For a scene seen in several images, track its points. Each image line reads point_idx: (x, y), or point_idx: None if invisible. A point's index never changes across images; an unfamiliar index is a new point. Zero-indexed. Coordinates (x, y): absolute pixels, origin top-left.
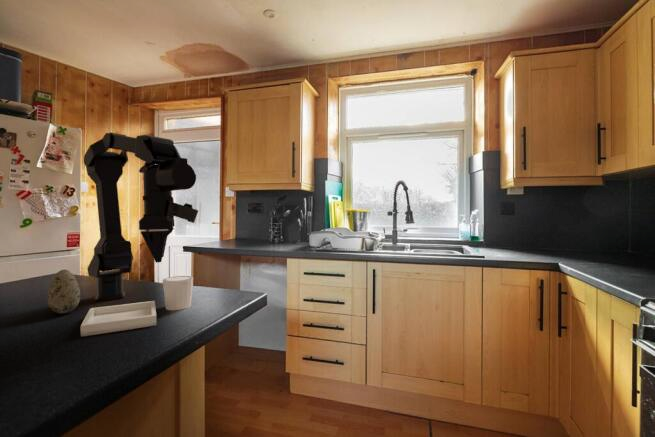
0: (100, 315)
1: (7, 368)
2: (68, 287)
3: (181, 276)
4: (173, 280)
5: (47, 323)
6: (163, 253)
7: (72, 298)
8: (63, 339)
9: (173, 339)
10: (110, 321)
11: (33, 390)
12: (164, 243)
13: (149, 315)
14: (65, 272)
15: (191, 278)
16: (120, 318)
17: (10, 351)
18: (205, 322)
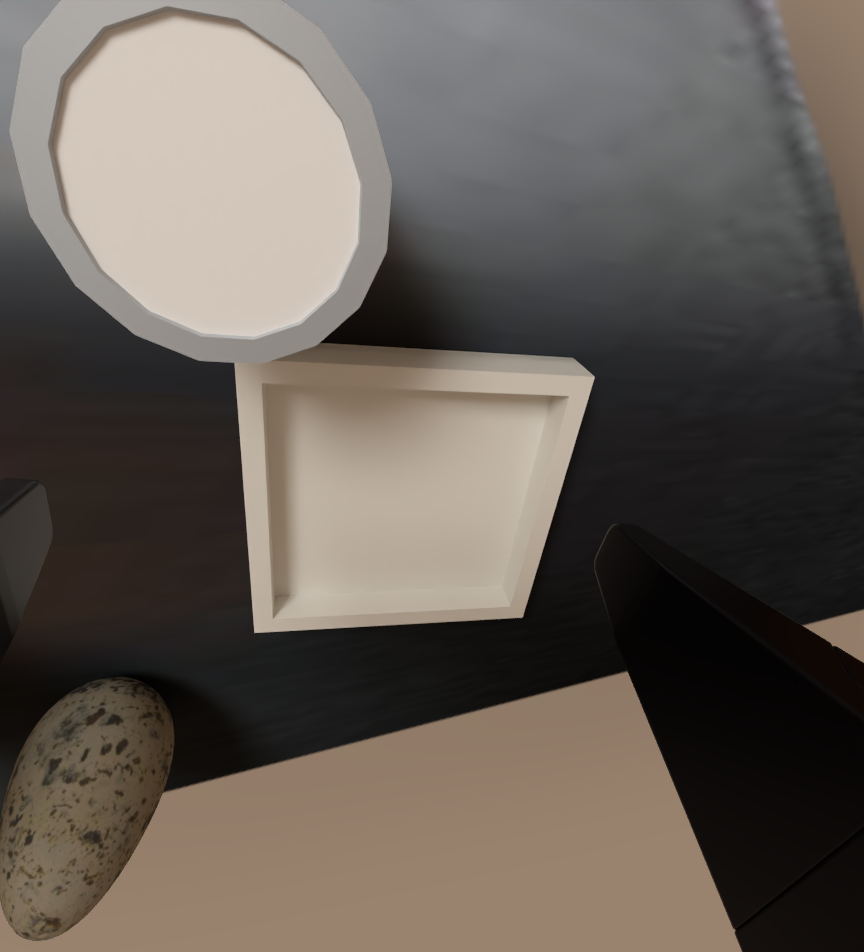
0: (296, 575)
1: None
2: (137, 798)
3: (55, 116)
4: (293, 263)
5: (270, 696)
6: (8, 512)
7: (150, 728)
8: (501, 622)
9: (802, 311)
10: (538, 543)
11: (797, 602)
12: (846, 691)
13: (568, 406)
14: (72, 908)
15: (284, 18)
16: (402, 502)
17: (513, 695)
18: (729, 91)
